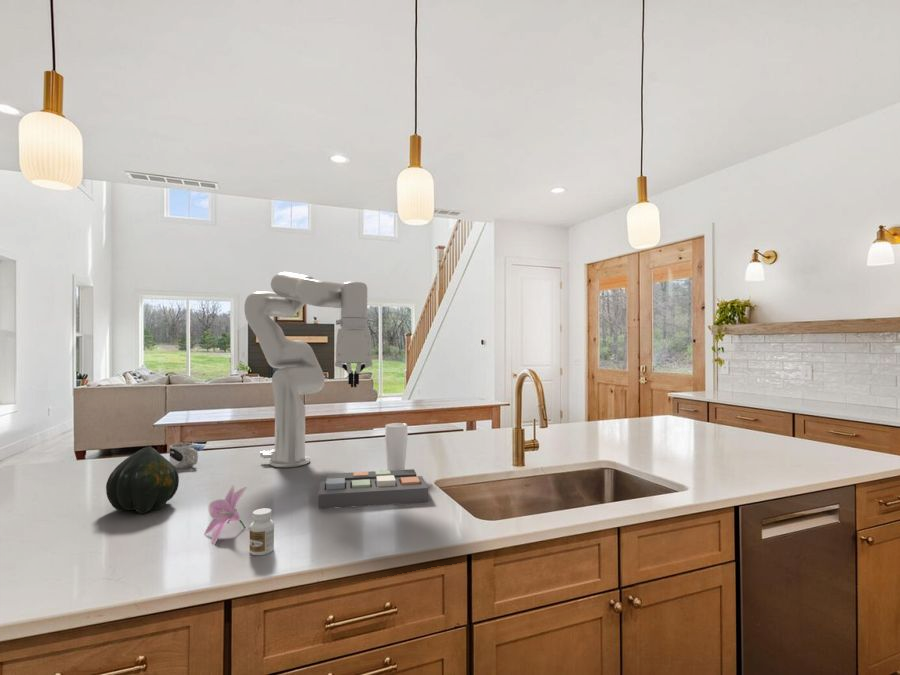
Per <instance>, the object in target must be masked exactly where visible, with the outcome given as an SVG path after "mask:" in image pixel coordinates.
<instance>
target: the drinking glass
mask: <svg viewBox="0 0 900 675" xmlns="http://www.w3.org/2000/svg"><path fill="white" fill-rule="evenodd" d="M384 430H385V431H384V438H385V439H384V441H385V451H386V453H385V454H386V464H387V465H386V467H387V468H386V469H387V470H406V458H407V447H408V437H409V434H408V424H407V423H403V422H393V423H392V422H391V423H387V424H385V428H384ZM387 470H386V471H387Z"/></svg>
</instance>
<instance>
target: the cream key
mask: <svg viewBox="0 0 900 675" xmlns="http://www.w3.org/2000/svg"><path fill="white" fill-rule="evenodd" d="M376 486H377V487H383V486H396V480H395V477H394V475H387V476H376Z"/></svg>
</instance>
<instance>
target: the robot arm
mask: <svg viewBox="0 0 900 675" xmlns="http://www.w3.org/2000/svg"><path fill="white" fill-rule="evenodd" d="M270 287H271V289H272V291H256V292H252V293H249V295H247V297H246V298H245V301H244V305H243V306H244V310H243V311H244V316H245V319H246V321H247V324H248V326H249V328H250V329H251V330H252V332H253V333H254V335H255V337H256V339H257V341H258V343H259V347H260V348H261V350H262V353H263V354H264V357H265V359H266V362H267V364H268V365H269V366H270V367H271V368H273V369H277V370H276V371H275V372H274V373H273V374H272V377H271V387H272V391H273V397H274V398H273V399H274V448H273V449H271V450H270V451H269V450H263V451H260V454H259V455H260V458H263V459H269V465H270V467H275V468H296V467H300V466H304V465H307V464H309V463H310V461H311V458H310V456H308V455H306V407H305V404H304V402H303V400H302V398H301V397H300V395H301V396H302V395H311V394H317V393H319V392H320V391H321V390H322V389H323V388H324V386H325V374H324V372H323V369H322V367H321V365H320V363H319V361H318V359H317V356H316V354H315V352H314V349H313V348H312V346H311V345H310V344H308V343H307V342H306V341H305V340H297V339H295V340H294V339H293V340H292V339H291V340H290V339H288V338H287V337H286V336H285V333H284V331H283V329H282V328H281V326H280V325H279V324H278V323H277V322H276V321H275V320H274V319H272V318H271V317H273V318H275V317H277V318H280V317H281V318H289V317H293V316H294V315H296V314H297V313H298V312H299V311H300V310H301V309H303V307H304V306H305V305H310V306H314V307H320V308H335V309H336V308H337V309H340V319H336V320H335V325H338V326H340V328H338V330H337V335H336V345H335V359H336V360H335V363H334V366H335V367H336V368H337V367H338V368H342V369H344V371H346V373H348V378H347V379H348V385H350V388H357V385H359V384H360V380H359V379H360V373H361V372H362V371H363V370H364V369H366V368H370V367H372V366H373V362H372V358H373V354H372V352H373V350H372V349H373V348H372V336H371V329H369V328H368V286H367V284H366V283H365V282H362V281H346V282H343V283H341V282H340V283H339V282H333V281H323V280H316V279H315V278H314V277H312V276H310V275H307V274H302V273H297V272H289V271H283V272H279V273H276V274H275V275H273V277H272V279H271V281H270ZM352 364H356V366H355V370H354V372H353V370H352Z"/></svg>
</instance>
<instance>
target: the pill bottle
mask: <svg viewBox="0 0 900 675" xmlns="http://www.w3.org/2000/svg"><path fill="white" fill-rule="evenodd" d="M272 513H273V512H272V509H271V508H268V507H267V508H266V507H263V508H258V509H255V510H254V511H252V516H251V517H252V521H253V522H251V523H250V525H249V553H250V554H251V555H254V556H265V555H268V554H270V553H271V552H273V550H274V549H275V548H274V547H275V523H274V521H273V520H272V516H273V514H272Z"/></svg>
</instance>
